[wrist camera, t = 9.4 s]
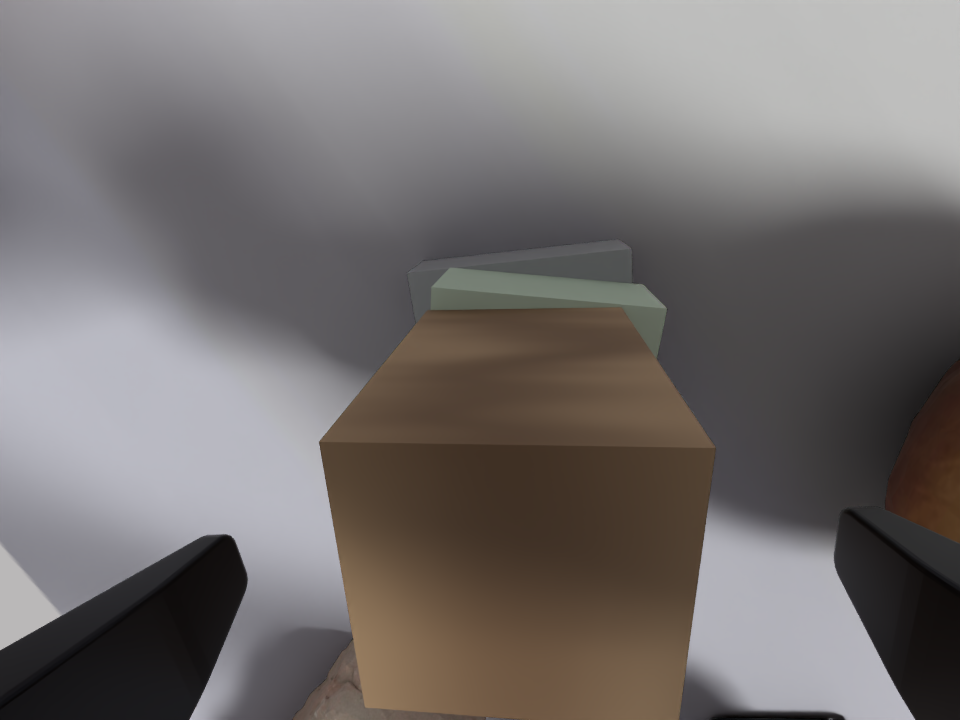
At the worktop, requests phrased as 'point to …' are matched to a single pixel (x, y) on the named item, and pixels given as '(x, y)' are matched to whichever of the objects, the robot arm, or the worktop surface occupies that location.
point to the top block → (549, 296)
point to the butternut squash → (931, 463)
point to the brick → (355, 698)
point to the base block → (529, 266)
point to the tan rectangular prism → (521, 519)
